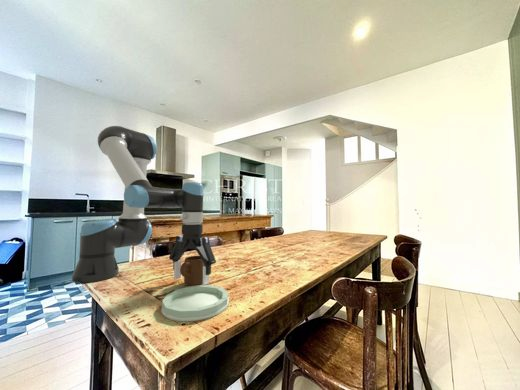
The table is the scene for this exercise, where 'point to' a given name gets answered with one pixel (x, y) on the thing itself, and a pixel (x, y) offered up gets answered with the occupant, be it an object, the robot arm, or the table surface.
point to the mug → (192, 270)
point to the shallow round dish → (195, 303)
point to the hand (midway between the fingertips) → (191, 281)
